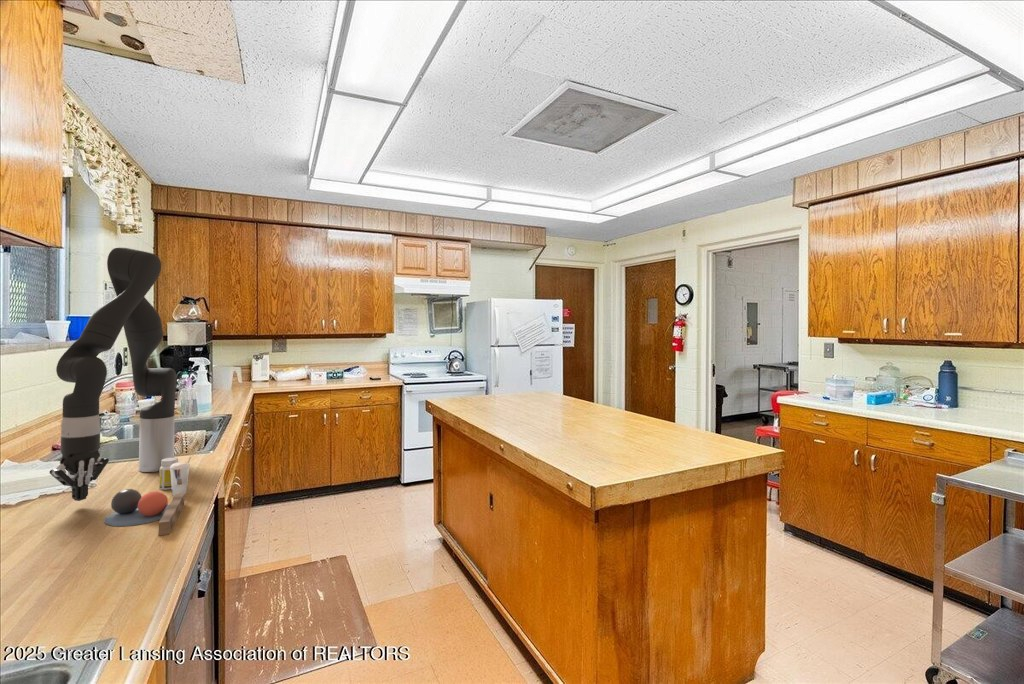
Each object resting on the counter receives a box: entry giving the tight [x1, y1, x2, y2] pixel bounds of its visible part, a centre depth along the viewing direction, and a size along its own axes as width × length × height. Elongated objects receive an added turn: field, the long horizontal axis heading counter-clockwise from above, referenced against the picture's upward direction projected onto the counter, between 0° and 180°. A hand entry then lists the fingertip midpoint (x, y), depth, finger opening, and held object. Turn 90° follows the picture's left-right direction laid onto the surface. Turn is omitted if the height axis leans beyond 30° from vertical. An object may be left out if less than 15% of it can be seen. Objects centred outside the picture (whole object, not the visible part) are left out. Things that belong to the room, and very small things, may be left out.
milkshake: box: [170, 456, 192, 497], centre depth 134 cm, size 4×5×10 cm
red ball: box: [138, 490, 169, 516], centre depth 119 cm, size 6×6×6 cm
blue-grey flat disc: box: [104, 504, 169, 527], centre depth 119 cm, size 14×14×1 cm
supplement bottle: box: [158, 457, 179, 491], centre depth 139 cm, size 5×5×8 cm
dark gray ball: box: [110, 488, 143, 514], centre depth 120 cm, size 6×6×6 cm
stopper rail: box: [157, 493, 186, 536], centre depth 117 cm, size 20×2×3 cm, turn 26°
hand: (80, 499), depth 122 cm, fingers closed
